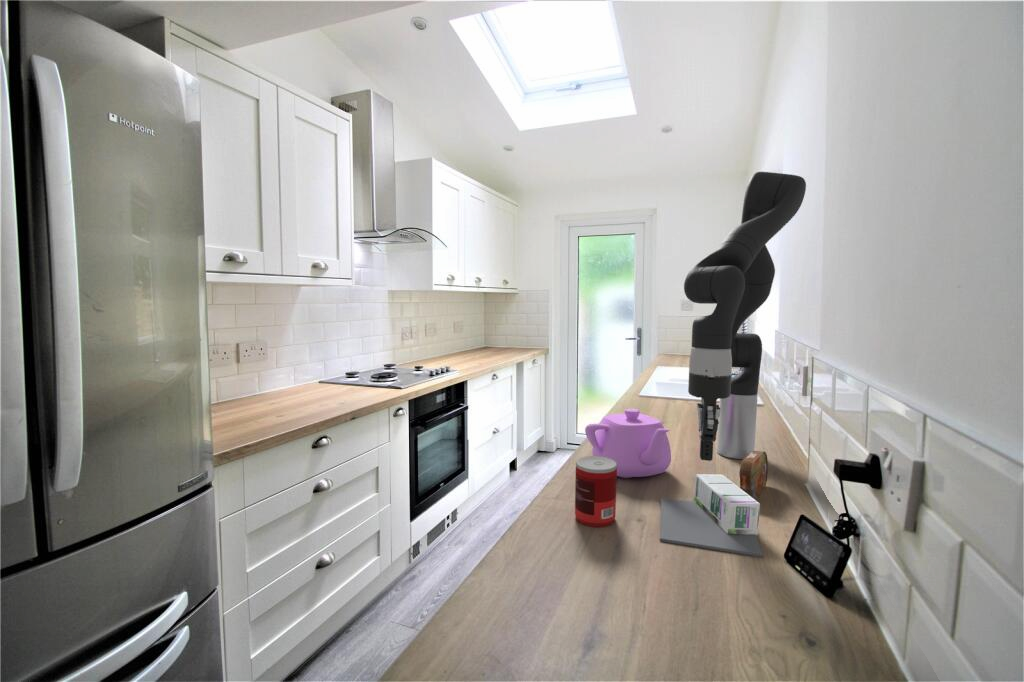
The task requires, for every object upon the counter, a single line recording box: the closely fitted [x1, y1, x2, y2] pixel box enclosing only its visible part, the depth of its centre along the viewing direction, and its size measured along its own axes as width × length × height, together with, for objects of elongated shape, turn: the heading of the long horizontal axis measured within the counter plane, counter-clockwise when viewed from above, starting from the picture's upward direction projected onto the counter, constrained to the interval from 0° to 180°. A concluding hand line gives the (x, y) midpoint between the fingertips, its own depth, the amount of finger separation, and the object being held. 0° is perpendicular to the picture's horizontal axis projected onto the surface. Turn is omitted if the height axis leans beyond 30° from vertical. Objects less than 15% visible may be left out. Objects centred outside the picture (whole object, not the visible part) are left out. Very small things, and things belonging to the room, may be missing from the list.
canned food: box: [574, 455, 618, 528], centre depth 90 cm, size 8×8×11 cm
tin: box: [738, 450, 769, 501], centre depth 103 cm, size 15×3×8 cm, turn 140°
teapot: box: [584, 408, 672, 479], centre depth 113 cm, size 23×21×15 cm
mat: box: [659, 497, 763, 558], centre depth 88 cm, size 18×16×1 cm
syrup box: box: [694, 473, 761, 535], centre depth 90 cm, size 6×6×14 cm
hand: (705, 459), depth 92 cm, fingers closed
